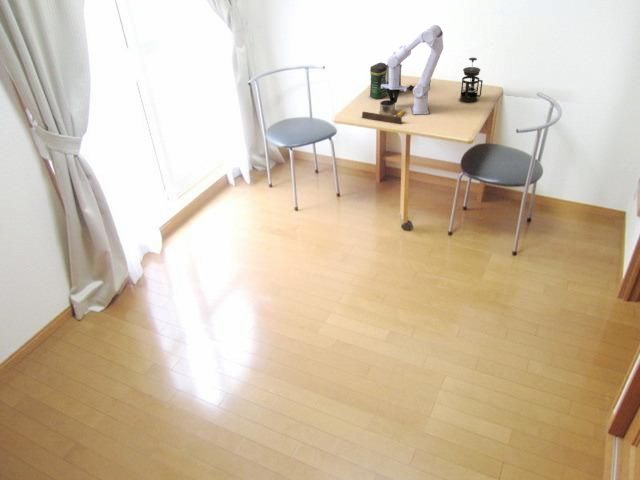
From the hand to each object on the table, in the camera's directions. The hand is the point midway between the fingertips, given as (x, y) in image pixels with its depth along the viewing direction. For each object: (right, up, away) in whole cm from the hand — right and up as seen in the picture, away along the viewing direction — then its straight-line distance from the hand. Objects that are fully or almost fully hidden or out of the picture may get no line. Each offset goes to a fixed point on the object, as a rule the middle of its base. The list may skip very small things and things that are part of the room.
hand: (393, 102), depth 284 cm
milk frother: (+7, +12, +20) cm, 24 cm away
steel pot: (-2, -5, -2) cm, 6 cm away
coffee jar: (-7, +8, +16) cm, 18 cm away
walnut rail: (-8, -13, -11) cm, 19 cm away
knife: (+1, -10, -9) cm, 14 cm away
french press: (+42, +2, +2) cm, 43 cm away
